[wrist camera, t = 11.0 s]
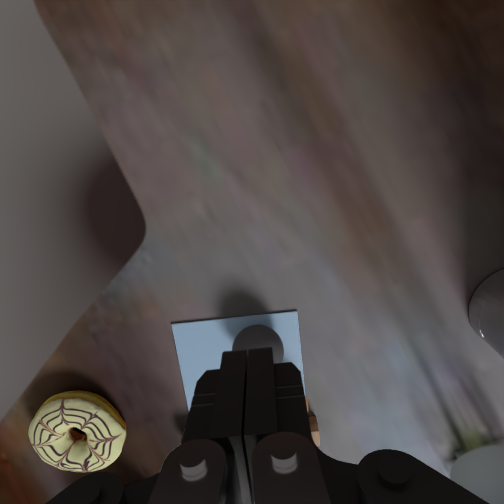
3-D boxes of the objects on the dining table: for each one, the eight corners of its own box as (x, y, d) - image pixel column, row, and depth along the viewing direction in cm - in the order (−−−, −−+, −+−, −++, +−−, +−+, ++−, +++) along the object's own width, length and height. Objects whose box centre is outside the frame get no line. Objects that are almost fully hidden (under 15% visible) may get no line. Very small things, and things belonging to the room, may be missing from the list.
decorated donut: (101, 469, 50) (89, 495, 46) (27, 426, 48) (8, 450, 45) (145, 415, 47) (135, 439, 44) (68, 368, 46) (52, 389, 42)
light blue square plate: (297, 310, 43) (297, 311, 43) (307, 416, 47) (307, 418, 47) (171, 323, 43) (171, 324, 43) (192, 427, 47) (192, 428, 47)
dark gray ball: (287, 331, 44) (260, 306, 41) (298, 372, 40) (269, 347, 37) (248, 353, 46) (219, 330, 42) (255, 395, 41) (223, 373, 38)
